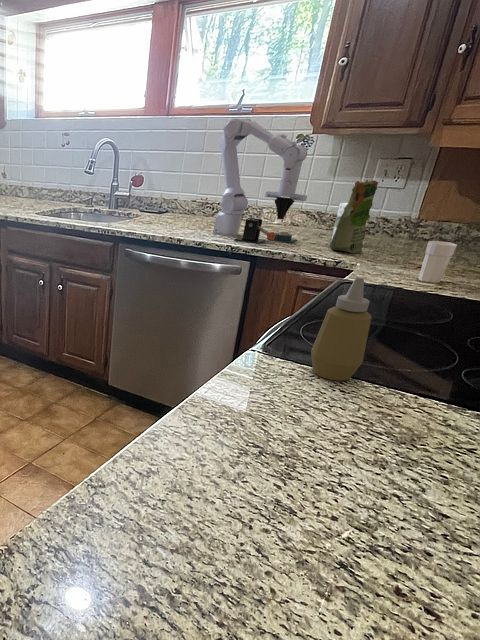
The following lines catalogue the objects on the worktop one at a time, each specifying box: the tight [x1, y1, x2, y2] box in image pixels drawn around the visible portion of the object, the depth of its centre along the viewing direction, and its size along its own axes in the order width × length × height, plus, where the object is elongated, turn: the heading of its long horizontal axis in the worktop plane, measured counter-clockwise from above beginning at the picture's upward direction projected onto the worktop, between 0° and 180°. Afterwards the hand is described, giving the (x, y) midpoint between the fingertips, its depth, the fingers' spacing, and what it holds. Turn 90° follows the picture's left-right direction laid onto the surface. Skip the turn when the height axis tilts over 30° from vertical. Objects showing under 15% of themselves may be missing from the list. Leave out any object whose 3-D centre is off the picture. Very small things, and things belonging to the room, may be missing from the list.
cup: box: [417, 240, 458, 284], centre depth 153 cm, size 7×7×11 cm
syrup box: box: [330, 202, 348, 241], centre depth 205 cm, size 6×6×14 cm
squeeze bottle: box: [310, 276, 372, 382], centre depth 91 cm, size 8×8×18 cm
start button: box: [278, 229, 289, 235], centre depth 203 cm, size 3×3×2 cm
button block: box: [266, 232, 298, 244], centre depth 204 cm, size 9×6×3 cm, turn 46°
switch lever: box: [252, 219, 276, 241], centre depth 199 cm, size 11×3×3 cm, turn 47°
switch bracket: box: [234, 217, 267, 245], centre depth 201 cm, size 9×8×9 cm
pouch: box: [328, 179, 379, 255], centre depth 185 cm, size 11×12×25 cm
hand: (280, 218), depth 197 cm, fingers closed
